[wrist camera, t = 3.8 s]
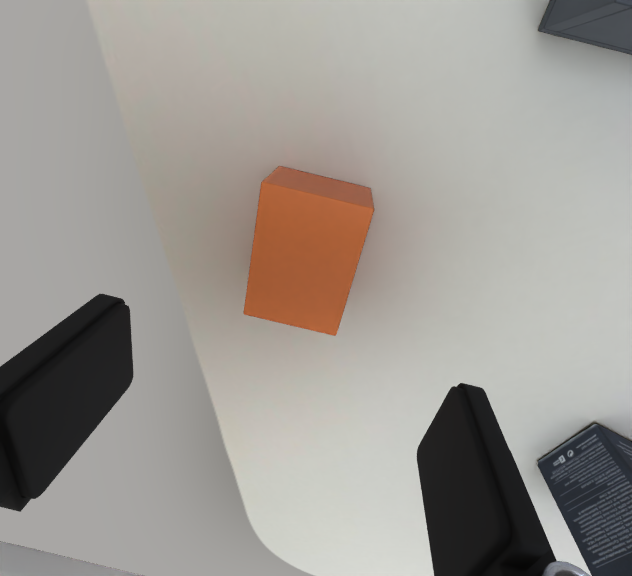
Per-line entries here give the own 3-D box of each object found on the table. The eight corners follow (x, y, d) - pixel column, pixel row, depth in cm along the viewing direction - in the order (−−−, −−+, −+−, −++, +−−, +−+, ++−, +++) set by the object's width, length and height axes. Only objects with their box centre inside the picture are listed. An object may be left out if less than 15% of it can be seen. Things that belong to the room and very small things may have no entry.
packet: (261, 280, 22) (243, 314, 18) (278, 165, 19) (260, 181, 15) (339, 298, 22) (335, 336, 19) (371, 187, 19) (374, 208, 15)
